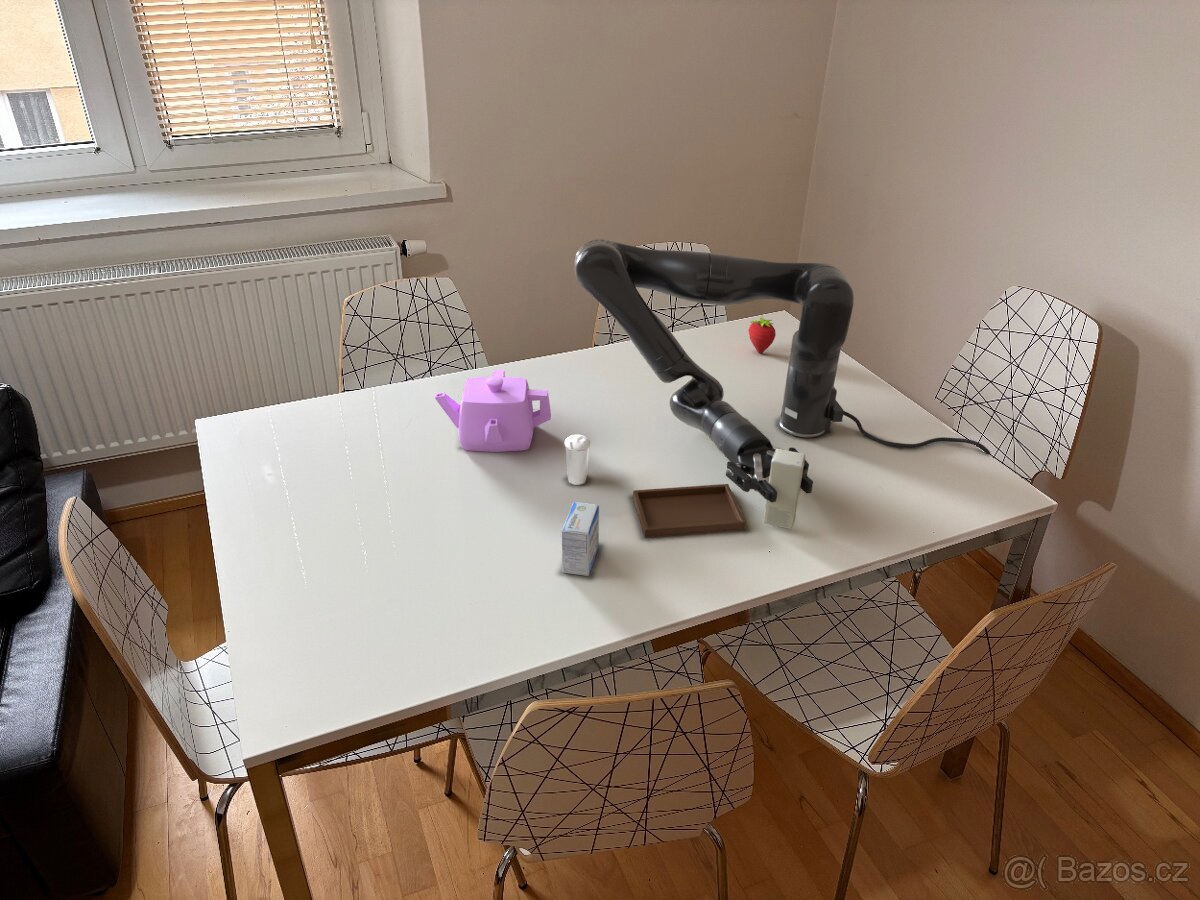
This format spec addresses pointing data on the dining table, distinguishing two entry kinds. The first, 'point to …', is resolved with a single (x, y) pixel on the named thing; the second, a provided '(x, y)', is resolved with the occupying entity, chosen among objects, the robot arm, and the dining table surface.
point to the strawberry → (761, 334)
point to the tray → (687, 510)
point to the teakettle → (496, 413)
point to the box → (784, 488)
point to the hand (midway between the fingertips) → (792, 493)
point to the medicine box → (580, 538)
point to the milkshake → (577, 458)
